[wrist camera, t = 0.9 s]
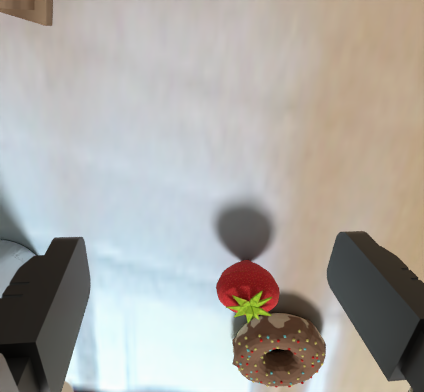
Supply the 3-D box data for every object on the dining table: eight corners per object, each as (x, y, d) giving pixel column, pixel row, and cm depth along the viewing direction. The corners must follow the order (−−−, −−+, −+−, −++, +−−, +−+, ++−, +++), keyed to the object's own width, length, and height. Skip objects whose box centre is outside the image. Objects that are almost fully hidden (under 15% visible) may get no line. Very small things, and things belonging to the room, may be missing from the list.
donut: (230, 305, 47) (229, 334, 42) (325, 305, 46) (335, 335, 41) (233, 365, 54) (233, 396, 49) (316, 366, 52) (324, 398, 48)
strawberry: (222, 237, 41) (219, 297, 32) (280, 248, 41) (292, 310, 32) (214, 272, 44) (209, 335, 35) (268, 281, 44) (276, 346, 35)
